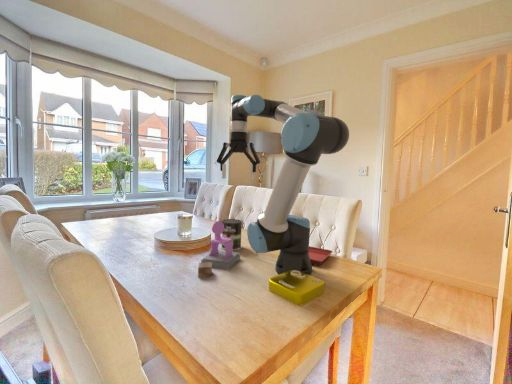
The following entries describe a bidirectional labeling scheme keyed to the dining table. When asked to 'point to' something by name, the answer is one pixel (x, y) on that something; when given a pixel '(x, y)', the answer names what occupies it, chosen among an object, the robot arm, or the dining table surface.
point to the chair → (220, 240)
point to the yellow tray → (296, 287)
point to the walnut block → (205, 269)
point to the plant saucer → (318, 255)
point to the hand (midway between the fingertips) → (237, 179)
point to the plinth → (221, 260)
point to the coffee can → (232, 232)
